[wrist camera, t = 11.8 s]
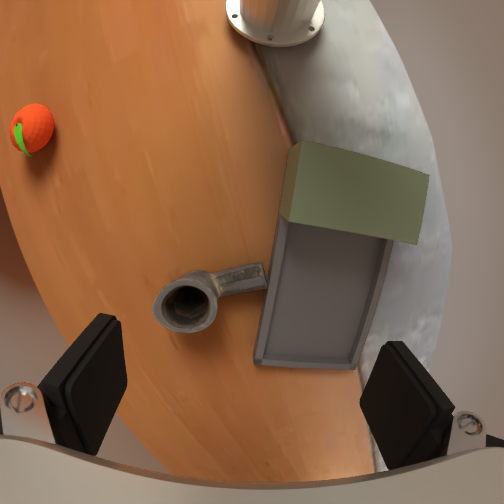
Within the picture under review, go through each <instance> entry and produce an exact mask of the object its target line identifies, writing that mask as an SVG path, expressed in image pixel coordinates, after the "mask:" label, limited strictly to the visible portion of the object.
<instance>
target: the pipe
mask: <svg viewBox="0 0 504 504" xmlns="http://www.w3.org/2000/svg"><path fill="white" fill-rule="evenodd" d="M266 288H267V281H266V276H265V272H264V268H263V264H262V262H259V263H253V264H249V265H244V266H240V267H236V268H231V269H227V270H224V271H220V272H216V273H209V272H206V271H202V270H196V271H191V272H188V273H186V274H185V275H183V276H182V277H181V278H180V279H179V280H176V281H173V282H171V283H169V284H168V285H166V286H165V287H164V288H163V289H162V290H161V291H160V292H159V294H158V295H157V297H156V298H155V300H154V302H153V306H152V312H153V315H154V317H155V318H156V320H157V321H158V322H159V323H160V324H161V325H162V326H164V327H166V328H167V329H169V330H172V331H175V332H180V333H194V332H198V331H201V330H204V329H206V328H207V327H208V326H209V325H210V324H211V323H212V322H213V321H214V319H215V317H216V314H217V310H218V304H217V300H218V298H219V297H222V296H227V295H232V294H237V293H243V292H249V291H254V290H260V289H266Z"/></svg>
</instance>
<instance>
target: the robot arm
mask: <svg viewBox="0 0 504 504" xmlns="http://www.w3.org/2000/svg"><path fill="white" fill-rule="evenodd" d="M226 14H227V18H228V20H229V22H230V24H231V26H232V27H233V28H234V29H235V30H236V31H237V32H238V33H239V34H241V35H242V36H243V37H245V38H247V39H249V40H251V41H253V42H256V43H259V44H262V45H267V46H274V47H287V46H294V45H298V44H301V43H304V42H306V41H308V40H310V39H311V38H313V37H314V36H315V35H316V34H317V33H318V32H319V30H320V28H321V27H322V25H323V22H324V19H325V11H324V6H323V4H322V2H321V0H227V1H226ZM234 18H236V19H234ZM269 40H272V41H269ZM126 388H127V374H126V366H125V358H124V349H123V340H122V329H121V322H120V321H118V320H117V319H116V317H115V316H113V315H108V314H103V313H99V314H98V315H97V316H96V317H95V318H94V320H93V321H92V322H91V323H90V324H89V325H88V326H87V327H86V329H85V330H84V331H83V332H82V333H81V334H80V336H79V337H78V338H77V339H76V340H75V341H74V342H73V344H72V345H71V346H70V347H69V348H68V349H67V351H66V352H65V353H64V354H63V356H62V357H61V358H60V359H59V360H58V361H57V363H56V364H55V365H54V366H53V368H52V369H51V370H50V371H49V373H48V374H47V375H46V376H45V377H44V379H43V380H42V381H41V383H40V384H39V385H38V386H37V387H36V386H34V385H32V384H30V383H26V382H20V383H15V384H12V385H10V386H8V387H7V388H6V389H5V390H4V391H3V392H2V394H1V397H0V504H504V440H502V439H499V438H496V437H493V436H490V435H487V434H486V425H485V423H484V421H483V420H482V419H481V417H479V416H478V415H477V414H475V413H473V412H469V411H460V412H458V413H457V414H455V416H453V415H452V414H451V413H452V412H453V410H454V409H455V406H454V405H453V404H452V402H451V401H450V400H449V398H448V397H447V396H446V394H445V393H444V392H443V391H442V389H441V388H440V387H439V385H438V384H437V383H436V382H435V380H434V379H433V378H432V377H431V375H430V374H429V373H428V372H427V370H426V369H425V368H424V367H423V365H422V364H421V363H420V362H419V361H418V359H417V358H416V357H415V356H414V355H413V353H412V352H411V351H410V350H409V348H408V347H407V346H406V345H405V344H404V343H403V342H402V341H388V342H386V344H385V345H383V346H382V347H381V349H380V352H379V354H378V357H377V360H376V362H375V365H374V367H373V370H372V372H371V375H370V377H369V379H368V382H367V384H366V386H365V389H364V391H363V393H362V396H361V398H360V407H361V409H362V412H363V414H364V416H365V418H366V421H367V423H368V425H369V427H370V430H371V432H372V434H373V436H374V439H375V441H376V443H377V445H378V448H379V450H380V452H381V455H382V457H383V459H384V462H385V464H386V466H387V468H388V469H389V470H388V471H383V472H378V473H373V474H367V475H361V476H355V477H348V478H340V479H331V480H321V481H309V482H289V483H250V482H230V481H217V480H207V479H198V478H191V477H183V476H177V475H171V474H165V473H160V472H155V471H150V470H145V469H141V468H136V467H132V466H128V465H124V464H120V463H116V462H112V461H109V460H105V459H102V458H98V457H95V456H96V455H97V453H98V451H99V448H100V446H101V444H102V441H103V439H104V436H105V434H106V432H107V430H108V427H109V425H110V423H111V421H112V418H113V416H114V414H115V412H116V410H117V407H118V405H119V403H120V401H121V399H122V397H123V394H124V392H125V390H126ZM92 455H93V456H92Z"/></svg>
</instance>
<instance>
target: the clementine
mask: <svg viewBox="0 0 504 504" xmlns="http://www.w3.org/2000/svg"><path fill="white" fill-rule="evenodd" d="M53 129H54V118H53V115H52V113H51V112H50V110H49V109H48V108H47V107H45V106H43V105H41V104H30V105H27V106H25V107H23V108H22V109H21V110H20V111H19V112H18V113H17V114H16V115H15V116H14V118H13V120H12V123H11V126H10V138H11V141H12V143H13V145H14V146H15V147H16V148H17V149H18V150H19V151H22V152H24V153H25V154H26V155H28V156H30V155H29V154H28V153H31V152H36V151H38V150H40V149H41V148H43V147H44V146H45V145H46V144H47V143H48V141H49V140H50V138H51V136H52V133H53ZM30 157H31V156H30Z"/></svg>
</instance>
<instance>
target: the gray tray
mask: <svg viewBox="0 0 504 504" xmlns="http://www.w3.org/2000/svg"><path fill="white" fill-rule="evenodd" d="M428 182H429V175H428V174H425V173H422V172H419V171H416V170H413V169H410V168H407V167H404V166H401V165H398V164H394V163H391V162H388V161H384V160H381V159H378V158H374V157H371V156H367V155H363V154H360V153H356V152H352V151H348V150H344V149H340V148H336V147H332V146H327V145H323V144H319V143H314V142H309V141H305V140H301V141H300V142H298V143H297V144H295V145H294V146H293V147H291V148H290V149H289V152H288V158H287V164H286V171H285V177H284V183H283V189H282V195H281V201H280V207H279V213H278V219H277V225H276V231H275V237H274V243H273V249H272V254H271V260H270V266H269V271H268V277H267V288H266V289H265V294H264V299H263V305H262V310H261V316H260V321H259V326H258V332H257V337H256V342H255V347H254V353H253V359H254V364H256V365H266V366H278V367H292V368H309V369H335V370H355V369H356V366H357V363H358V361H359V358H360V355H361V352H362V349H363V347H364V344H365V341H366V338H367V335H368V332H369V329H370V326H371V323H372V320H373V316H374V313H375V310H376V307H377V303H378V300H379V296H380V293H381V289H382V286H383V282H384V278H385V274H386V270H387V266H388V262H389V258H390V254H391V250H392V245H393V241H394V240H395V241H400V242H405V243H410V244H414V245H417V242H418V238H419V233H420V228H421V223H422V218H423V213H424V207H425V201H426V195H427V188H428Z"/></svg>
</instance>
